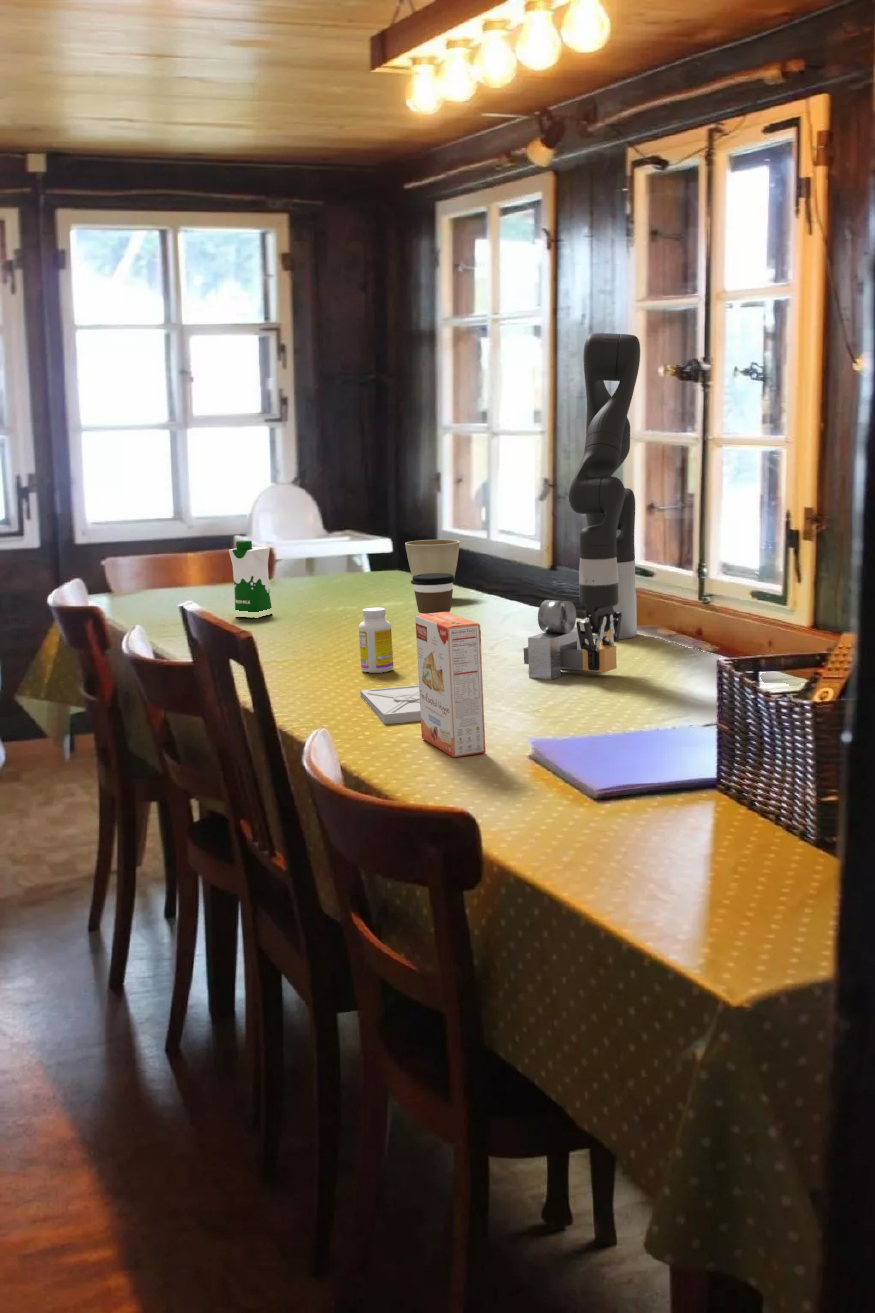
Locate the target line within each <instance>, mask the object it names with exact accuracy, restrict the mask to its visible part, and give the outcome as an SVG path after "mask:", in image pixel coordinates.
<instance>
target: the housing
mask: <svg viewBox="0 0 875 1313" xmlns="http://www.w3.org/2000/svg"><path fill="white" fill-rule="evenodd" d="M537 612H538V613H537V624H538V627H539V628H540V630H541V631H542V632H541V633H538V634H535V635H533V636H529V637H527V645H528V646H527V647H528V655H529V664H528V678H529V679H537V680H538V679H539V680H540V679H541V680H547V681H548V680H550V681H551V680H555V679H558V678H560V677H562V676H561V675H562V673H561V671H562V670H574V671H580V670H581V669H573V668H563V667H561V666H560V648H567V649H578V650H582V649H581V647H580V641H579V636H578V631H577V626H576V623H577V611H576V607H575V605H574V603H573V602H572V601H568V600H553V599H552V600H551V599H545V600H544V601H542V603H541V604H540V606H539V609H538V611H537ZM585 643H586V639H585Z"/></svg>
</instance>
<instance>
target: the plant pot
mask: <svg viewBox="0 0 875 1313" xmlns="http://www.w3.org/2000/svg"><path fill="white" fill-rule="evenodd" d="M460 543H461V542H460V540H456V539H423V540H422V539H421V540H414V541H413V540H412V541H407V542H405V543H404V545H405V551H406V556H407V560H408V565H409V569H410V573H411V577H413V576H415V575H419V574H428V573H448V574H452V575H454V577H455V576H456V572H457V567H458V566H457V565H458V561H459V560H458V558H459V552H460Z"/></svg>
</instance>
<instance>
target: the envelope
mask: <svg viewBox="0 0 875 1313" xmlns="http://www.w3.org/2000/svg"><path fill="white" fill-rule="evenodd" d="M359 694H360V697H361V696H362V698H363V699H364V700H363V699H362V698H361V699H362V700H363V701H364V702H365V701H366V702H367V703H366V702H365V703H366V704H368V705H369V706H368V705H367V706H368V707H369V708H370V707H371V708H370V710H372V712H373V713H374V714H375V715H376V716H377V718H378V719H379V720H380V721H381V722H382V723H383V724H384V725H390V724H391V725H392V724H403V723H411V722H413V723H414V722H421V713H420V695H419V684H416V685H415V684H414V685H405V686H394V687H392V686H391V687H380V688H371V689H361V690H360V693H359Z"/></svg>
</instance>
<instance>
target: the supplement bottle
mask: <svg viewBox="0 0 875 1313" xmlns="http://www.w3.org/2000/svg"><path fill="white" fill-rule="evenodd" d="M386 612H387V610H386V608H384V607H368V608H363V609H362V616H363V621H361V622H360V623H359V625H358V638H359V653H360V654H359V655H360V656H359V657H360V668H361V671H362V672H364V673H366V672H369V673H368V674H383V672H384V673H388V672H390V671H392V670H393V669H394V657H393V656H394V655H393V653H394V652H393V640H392V638H393V636H392V625H391V622H389V620H387V619H386V617H385V616H386Z"/></svg>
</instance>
